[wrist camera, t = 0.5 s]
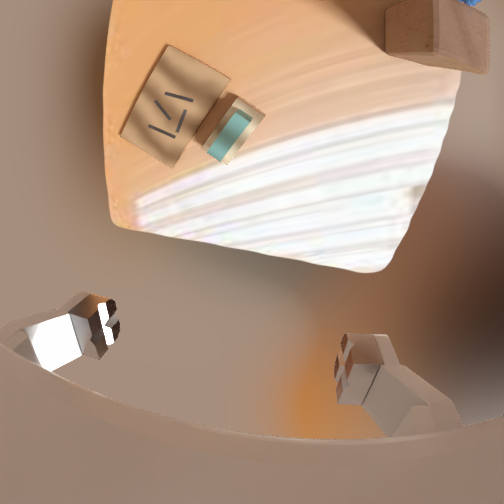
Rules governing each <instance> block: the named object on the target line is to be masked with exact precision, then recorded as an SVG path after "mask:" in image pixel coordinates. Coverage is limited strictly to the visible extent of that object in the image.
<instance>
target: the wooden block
mask: <svg viewBox="0 0 504 504" xmlns="http://www.w3.org/2000/svg"><path fill="white" fill-rule="evenodd" d="M489 29H490V27H489V18H488V16H487V15H486V14H484V13H482V12H481V11H478V10H477V9H475V8H473V7H471V6H469V5H467V4H465V3H463V2H461V1H458V0H405V1H403V2H400V3H398V4H396V5H394V6H392V7H390V8H388V9H386V11H385V51H386V53H387V54H388V55H390V56H394V57H398V58H402V59H406V60H409V61H413V62H417V63H420V64H423V65H427V66H434V67H442V68H449V69H455V70H461V71H467V72H473V73H477V74H487V73H488V71H489V58H490V57H489V56H490V30H489Z"/></svg>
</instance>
